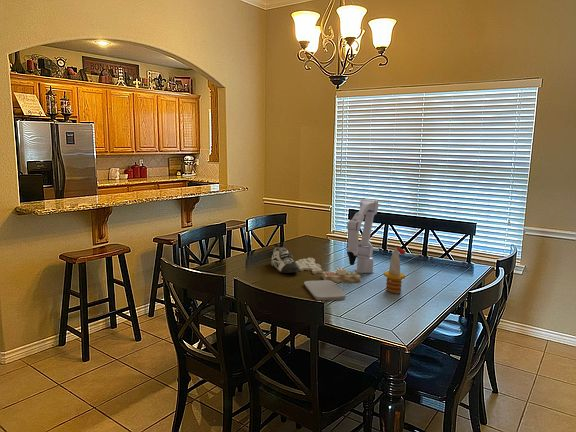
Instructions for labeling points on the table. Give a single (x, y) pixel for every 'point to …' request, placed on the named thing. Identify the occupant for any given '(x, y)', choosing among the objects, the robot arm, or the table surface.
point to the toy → (394, 272)
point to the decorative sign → (308, 265)
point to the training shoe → (283, 261)
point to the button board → (342, 277)
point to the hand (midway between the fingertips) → (351, 264)
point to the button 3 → (330, 273)
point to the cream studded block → (341, 271)
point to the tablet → (324, 290)
